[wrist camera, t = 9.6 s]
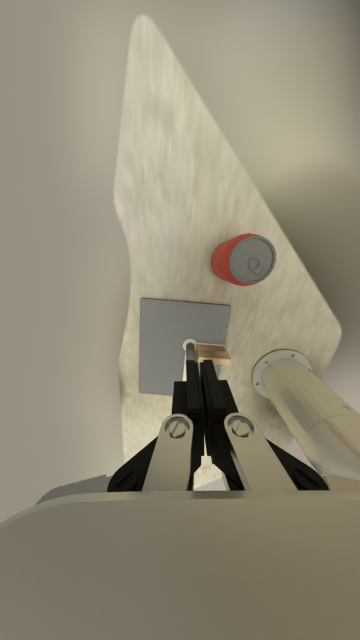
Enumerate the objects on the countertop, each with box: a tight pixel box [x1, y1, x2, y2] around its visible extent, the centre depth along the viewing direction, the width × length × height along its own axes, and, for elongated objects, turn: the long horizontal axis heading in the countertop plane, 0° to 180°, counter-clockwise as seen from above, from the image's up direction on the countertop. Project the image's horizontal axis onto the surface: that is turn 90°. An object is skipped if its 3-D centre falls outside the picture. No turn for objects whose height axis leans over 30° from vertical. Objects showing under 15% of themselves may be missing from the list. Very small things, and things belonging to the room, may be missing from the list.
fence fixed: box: [196, 344, 231, 366], centre depth 34 cm, size 6×1×6 cm, turn 85°
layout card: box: [139, 298, 231, 396], centre depth 38 cm, size 18×22×1 cm
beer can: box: [211, 234, 276, 286], centre depth 27 cm, size 7×7×12 cm
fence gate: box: [186, 343, 196, 362], centre depth 35 cm, size 11×2×6 cm, turn 4°
